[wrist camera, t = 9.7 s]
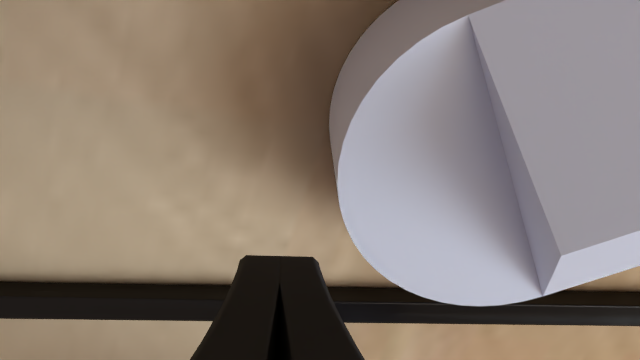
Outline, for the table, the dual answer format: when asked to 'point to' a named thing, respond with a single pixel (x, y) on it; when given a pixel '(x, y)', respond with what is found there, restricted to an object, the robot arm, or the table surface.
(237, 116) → the table surface
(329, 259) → the table surface
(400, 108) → the wedge on round base
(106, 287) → the frame
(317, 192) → the table surface
